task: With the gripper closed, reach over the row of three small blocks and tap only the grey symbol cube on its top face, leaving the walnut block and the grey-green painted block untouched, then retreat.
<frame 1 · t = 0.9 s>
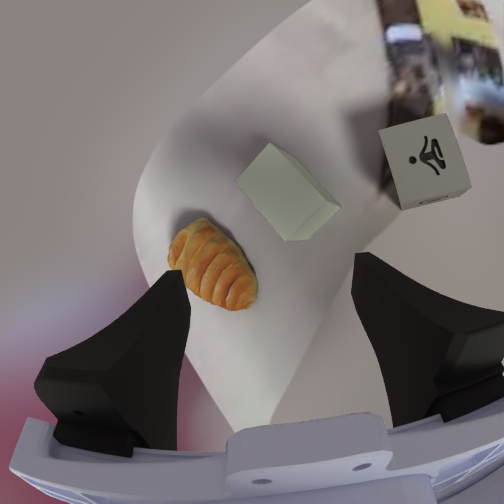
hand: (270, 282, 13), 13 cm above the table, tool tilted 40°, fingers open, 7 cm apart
pastry: (220, 262, 30), on the table
grey symbol cube: (422, 172, 21), on the table
grey-green block: (301, 197, 26), on the table
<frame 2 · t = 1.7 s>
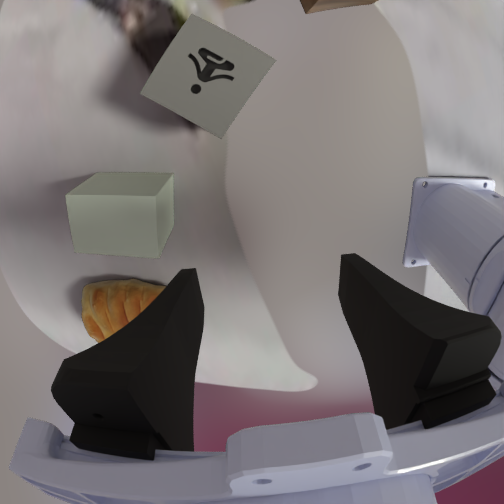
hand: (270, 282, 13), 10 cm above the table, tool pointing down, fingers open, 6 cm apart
pastry: (132, 300, 26), on the table
grey symbol cube: (215, 79, 18), on the table
grey-green block: (135, 198, 21), on the table
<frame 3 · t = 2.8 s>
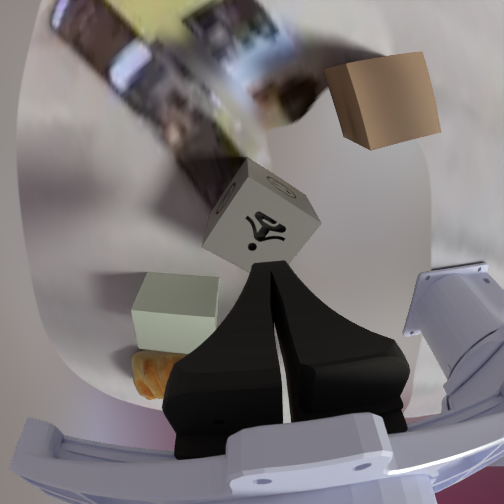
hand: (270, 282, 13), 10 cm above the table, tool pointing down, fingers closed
walnut block: (365, 95, 18), on the table
pastry: (174, 362, 31), on the table
grey symbol cube: (257, 203, 22), on the table
grey-green block: (183, 293, 26), on the table
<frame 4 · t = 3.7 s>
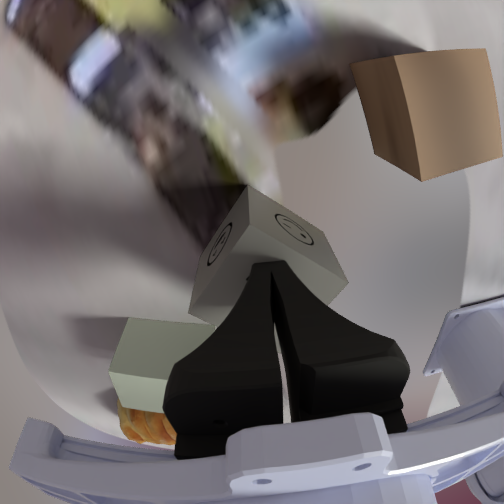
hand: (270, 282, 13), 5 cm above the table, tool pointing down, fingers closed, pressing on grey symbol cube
walnut block: (403, 100, 13), on the table
pastry: (165, 404, 26), on the table
grey symbol cube: (260, 242, 18), on the table, touching gripper
grey-green block: (173, 341, 21), on the table
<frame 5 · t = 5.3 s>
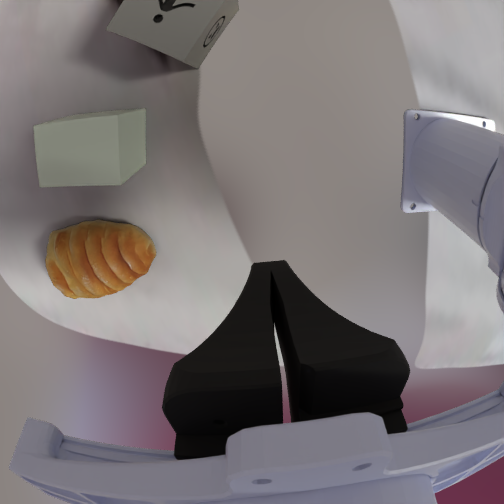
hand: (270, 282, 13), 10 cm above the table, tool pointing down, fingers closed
pastry: (100, 248, 24), on the table
grey symbol cube: (186, 24, 16), on the table
grey-green block: (107, 138, 19), on the table
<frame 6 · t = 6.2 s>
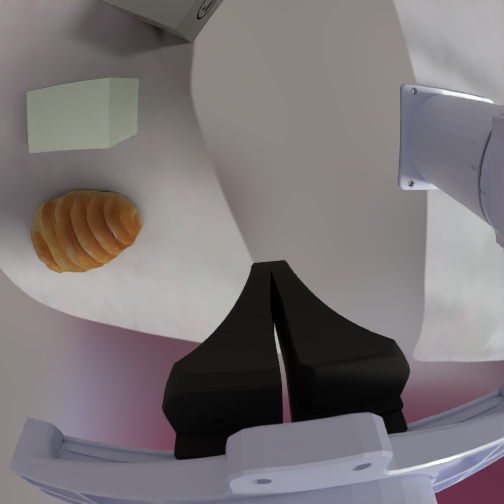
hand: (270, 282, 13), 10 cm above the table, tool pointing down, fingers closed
pastry: (87, 220, 23), on the table
grey symbol cube: (182, 0, 15), on the table
grey-green block: (100, 108, 18), on the table
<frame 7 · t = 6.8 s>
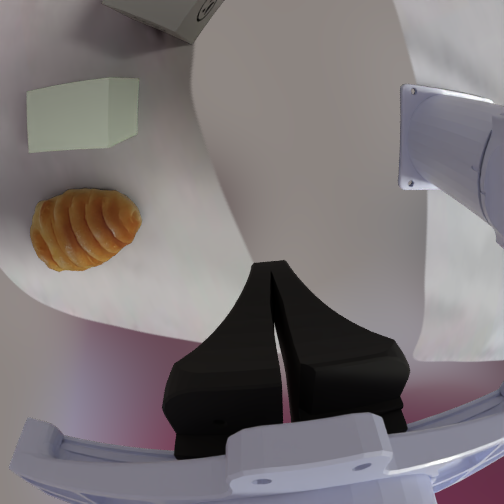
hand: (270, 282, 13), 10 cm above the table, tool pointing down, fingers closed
pastry: (86, 219, 23), on the table
grey symbol cube: (181, 2, 15), on the table
grey-green block: (100, 108, 18), on the table
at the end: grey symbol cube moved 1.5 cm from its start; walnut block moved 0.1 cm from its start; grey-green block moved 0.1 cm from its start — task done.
